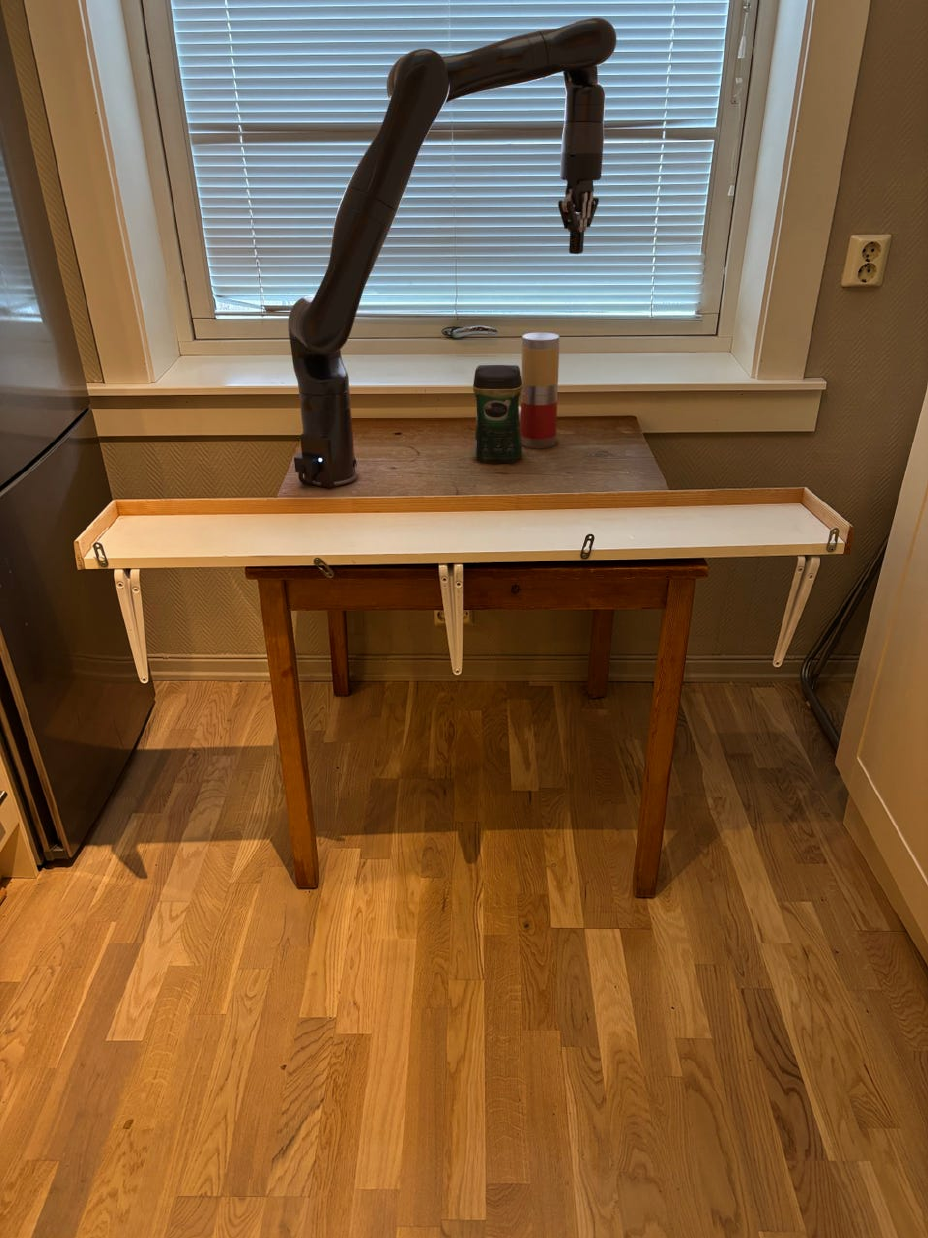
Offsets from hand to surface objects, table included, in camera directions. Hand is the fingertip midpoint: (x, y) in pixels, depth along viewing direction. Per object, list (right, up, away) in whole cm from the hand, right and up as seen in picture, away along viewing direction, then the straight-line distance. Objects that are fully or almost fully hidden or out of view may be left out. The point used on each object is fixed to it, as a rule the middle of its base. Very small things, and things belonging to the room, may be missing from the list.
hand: (575, 253), depth 172 cm
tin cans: (-6, -32, +20) cm, 38 cm away
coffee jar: (-14, -37, +12) cm, 41 cm away
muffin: (-11, -27, +30) cm, 42 cm away
